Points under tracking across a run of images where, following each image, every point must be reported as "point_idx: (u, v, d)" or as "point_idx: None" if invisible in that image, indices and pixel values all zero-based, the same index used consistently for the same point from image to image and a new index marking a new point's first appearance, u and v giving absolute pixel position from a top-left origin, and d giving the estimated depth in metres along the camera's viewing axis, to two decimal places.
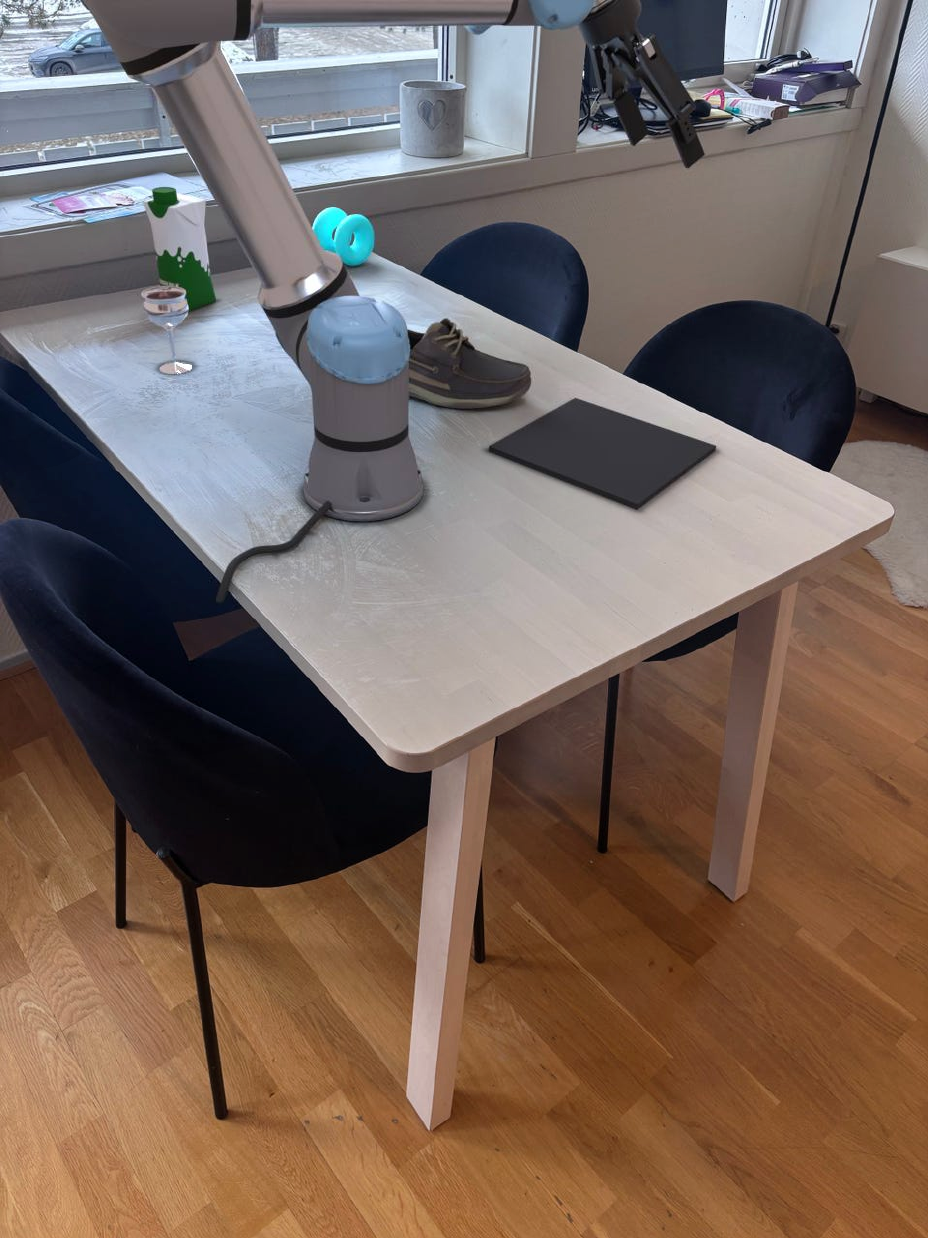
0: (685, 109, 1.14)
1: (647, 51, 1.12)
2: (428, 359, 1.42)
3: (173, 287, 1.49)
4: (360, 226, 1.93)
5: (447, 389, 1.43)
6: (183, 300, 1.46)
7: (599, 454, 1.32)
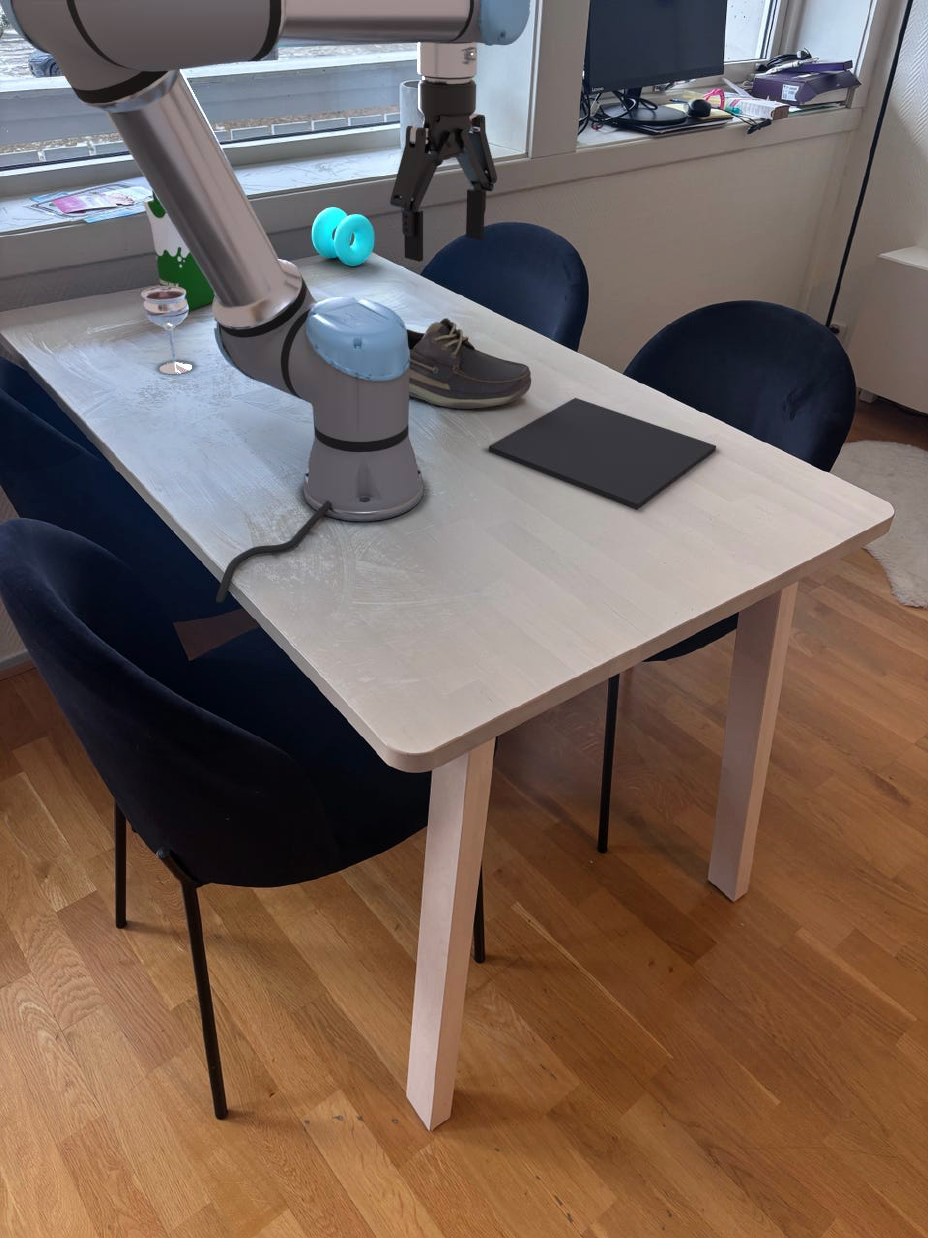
0: (396, 200, 1.24)
1: (410, 136, 1.22)
2: (428, 359, 1.42)
3: (173, 287, 1.49)
4: (360, 226, 1.93)
5: (447, 389, 1.43)
6: (183, 300, 1.46)
7: (599, 454, 1.32)
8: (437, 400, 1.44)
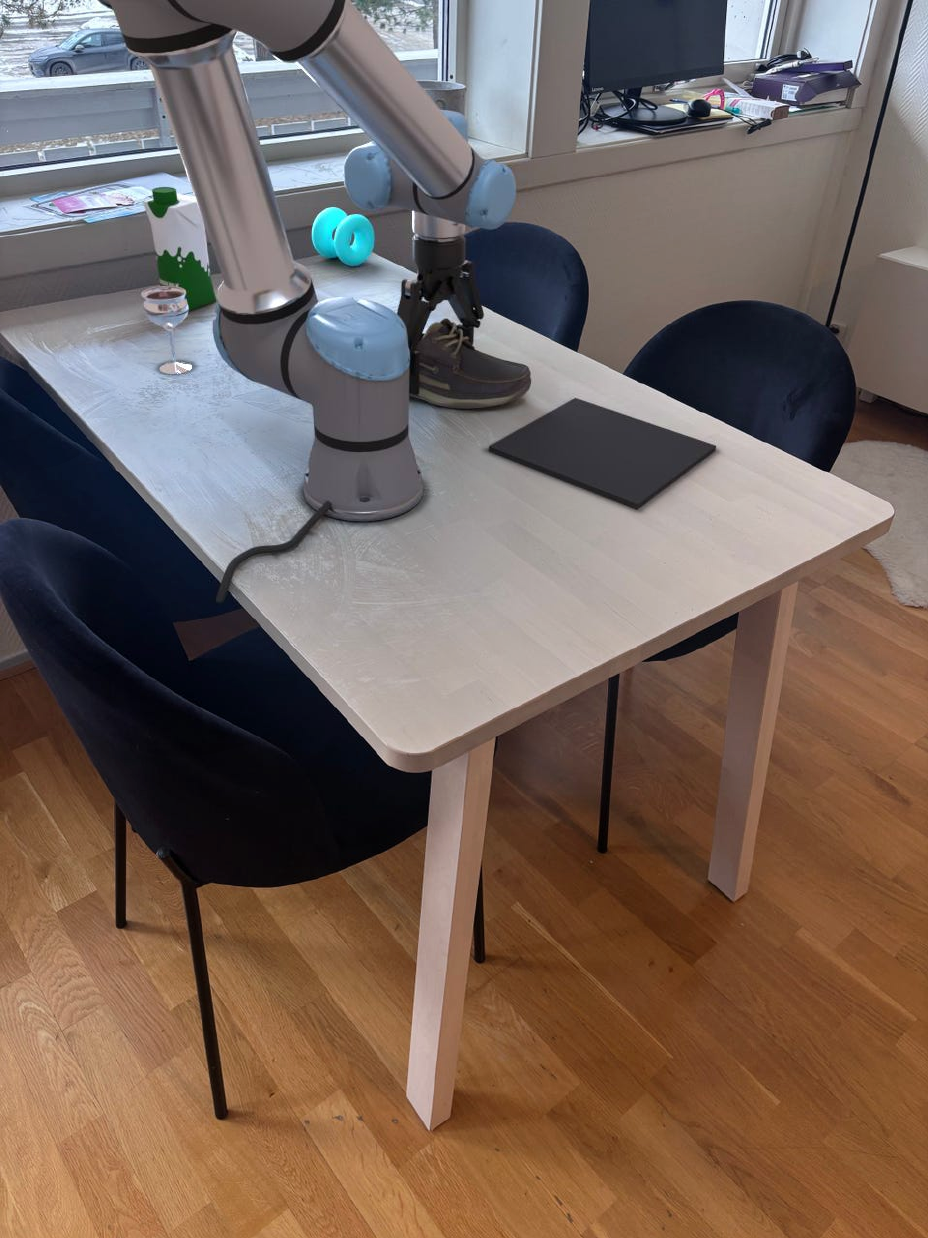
0: None
1: (405, 289, 1.34)
2: (428, 359, 1.42)
3: (173, 287, 1.49)
4: (360, 226, 1.93)
5: (447, 389, 1.43)
6: (183, 300, 1.46)
7: (599, 454, 1.32)
8: (437, 400, 1.44)
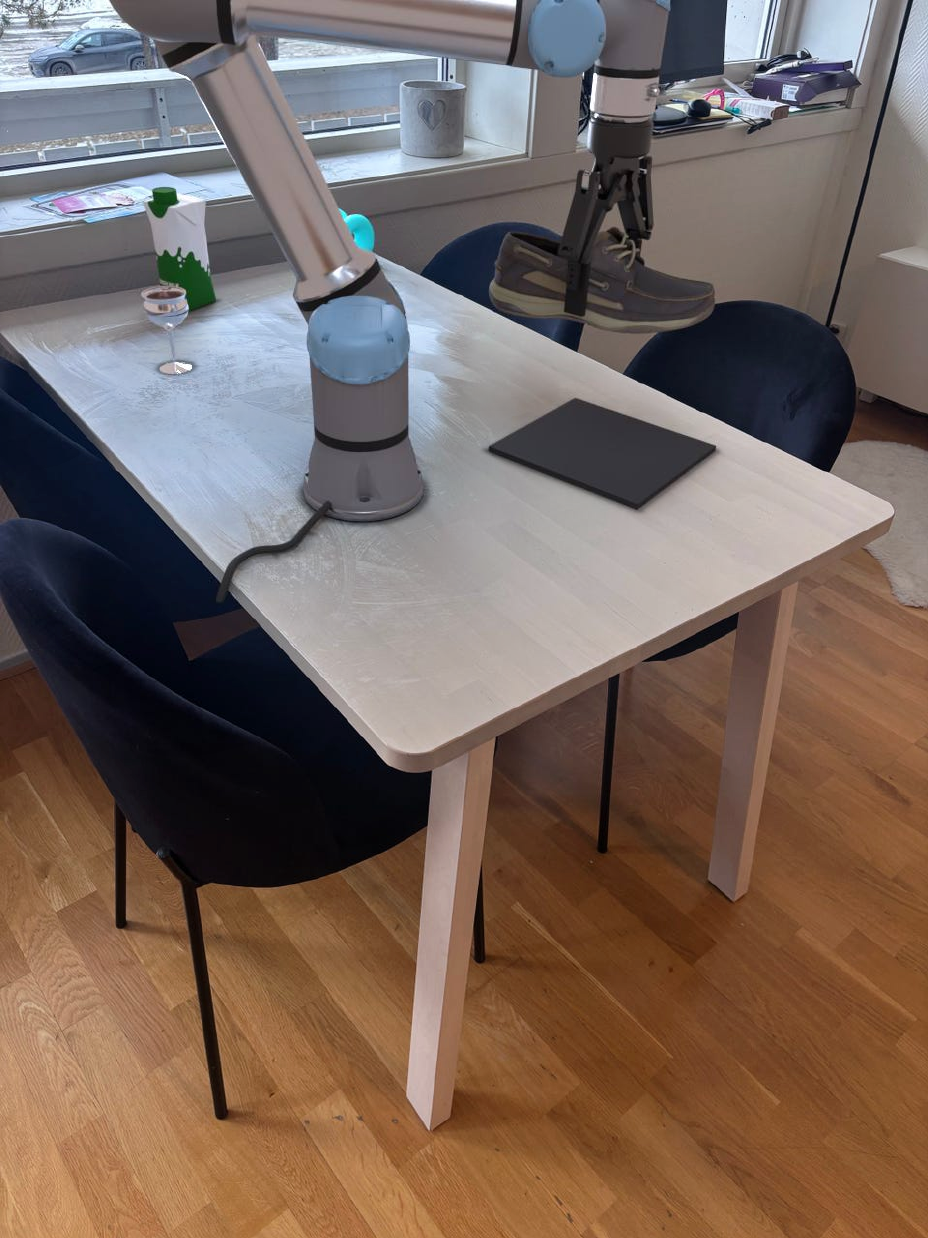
0: (565, 252, 1.13)
1: (582, 181, 1.11)
2: (597, 273, 1.19)
3: (173, 287, 1.49)
4: (360, 226, 1.93)
5: (619, 309, 1.19)
6: (183, 300, 1.46)
7: (599, 454, 1.32)
8: (605, 323, 1.20)
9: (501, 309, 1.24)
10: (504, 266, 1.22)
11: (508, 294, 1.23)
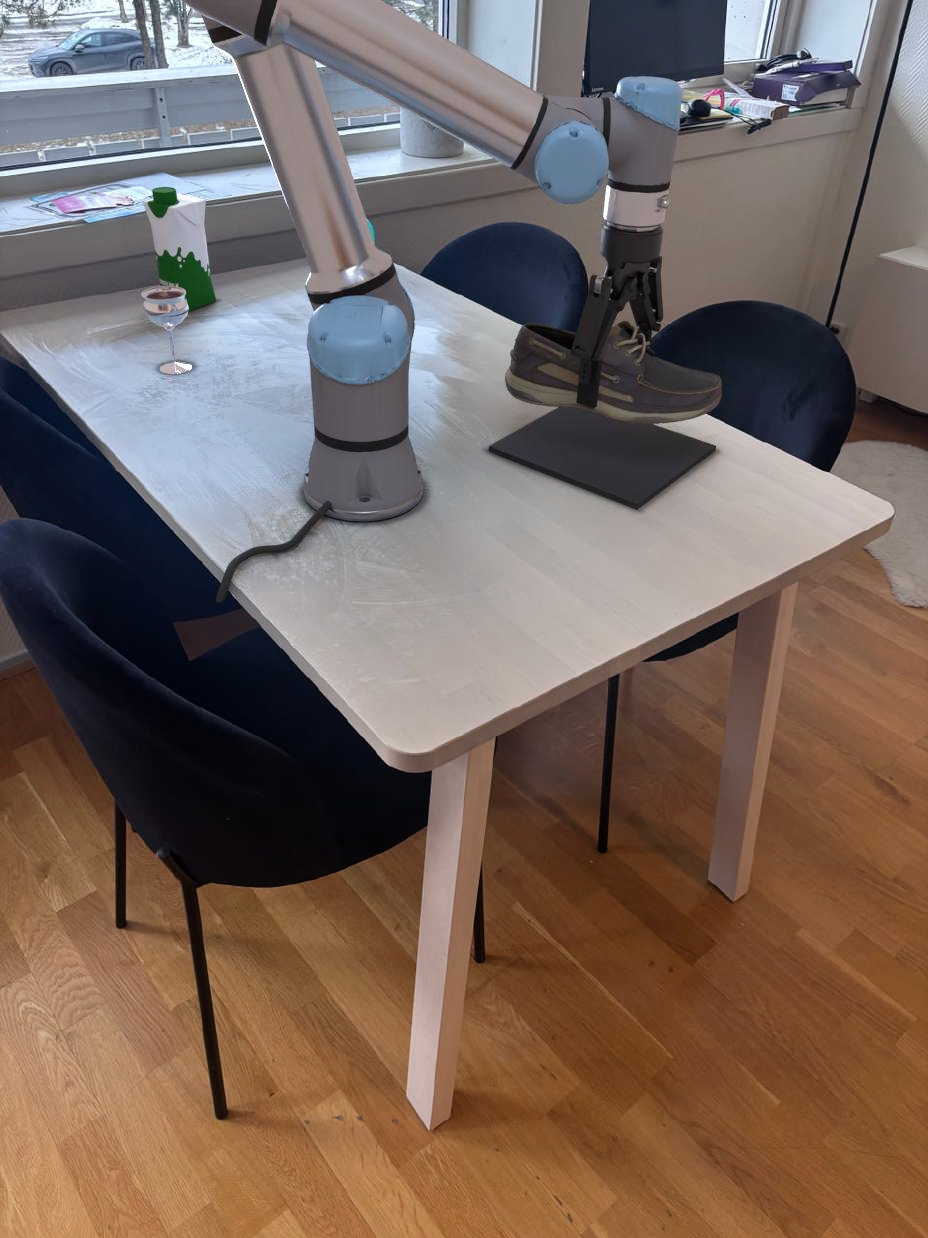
0: (578, 351, 1.19)
1: (595, 286, 1.16)
2: (608, 367, 1.24)
3: (173, 287, 1.49)
4: None
5: (629, 401, 1.24)
6: (183, 300, 1.46)
7: (599, 454, 1.32)
8: (616, 414, 1.26)
9: (516, 397, 1.30)
10: (520, 357, 1.28)
11: (523, 384, 1.28)
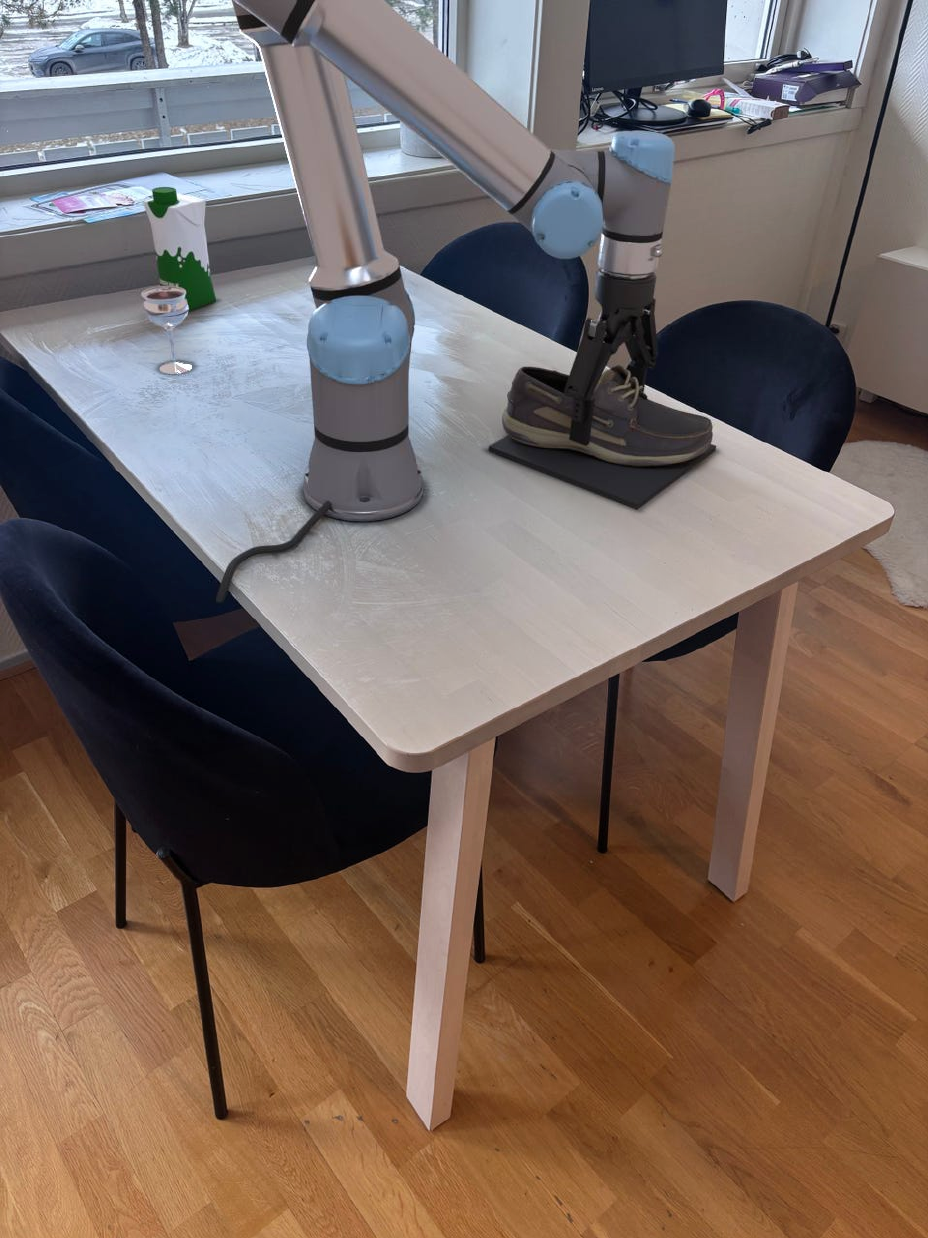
0: (571, 391, 1.21)
1: (589, 329, 1.19)
2: (602, 412, 1.28)
3: (173, 287, 1.49)
4: None
5: (623, 445, 1.28)
6: (183, 300, 1.46)
7: None
8: (610, 457, 1.29)
9: (513, 438, 1.34)
10: (516, 400, 1.31)
11: (519, 426, 1.32)
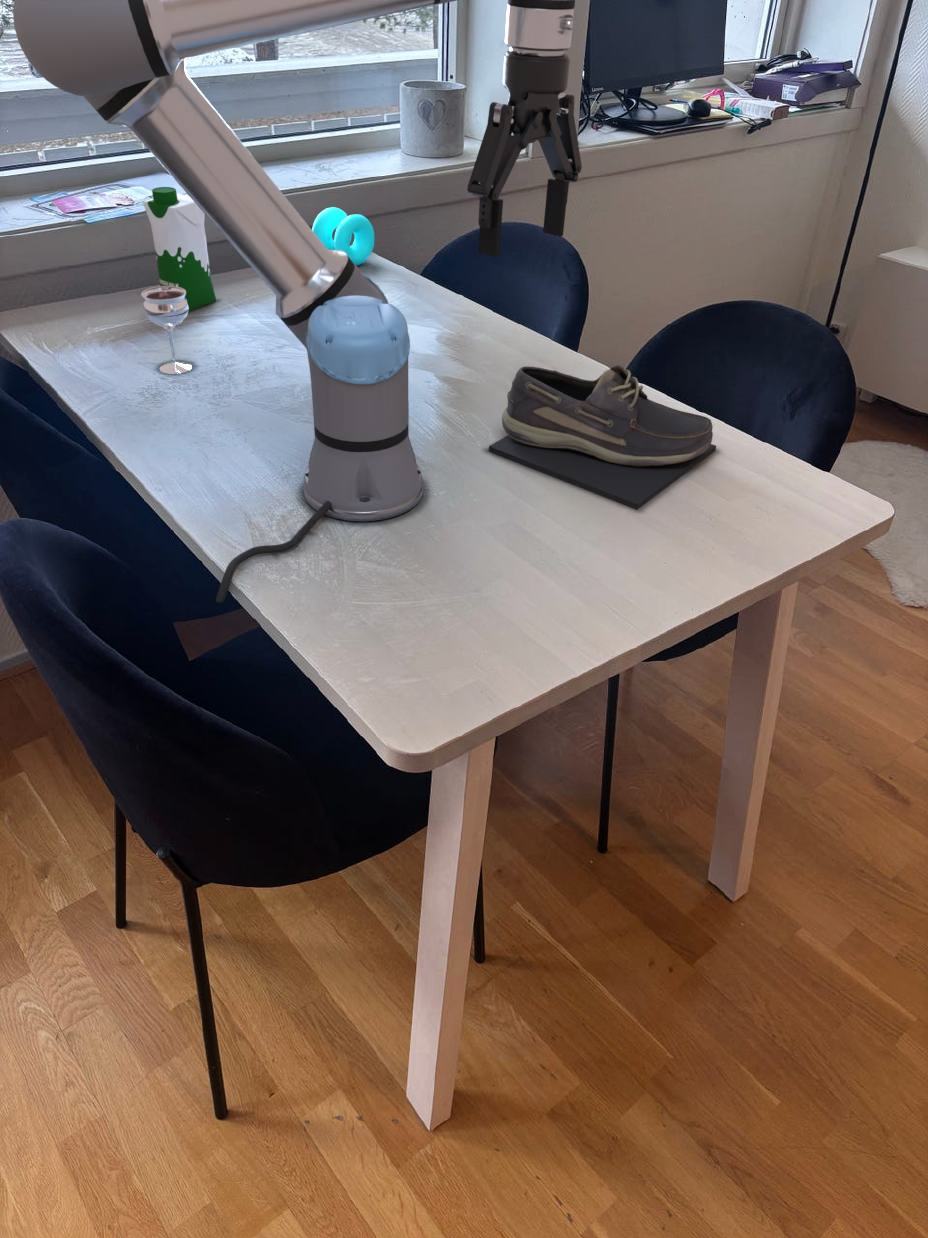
0: (475, 186, 1.10)
1: (494, 114, 1.08)
2: (602, 412, 1.28)
3: (173, 287, 1.49)
4: (360, 226, 1.93)
5: (623, 445, 1.28)
6: (183, 300, 1.46)
7: None
8: (610, 457, 1.29)
9: (513, 438, 1.34)
10: (516, 400, 1.31)
11: (519, 426, 1.32)
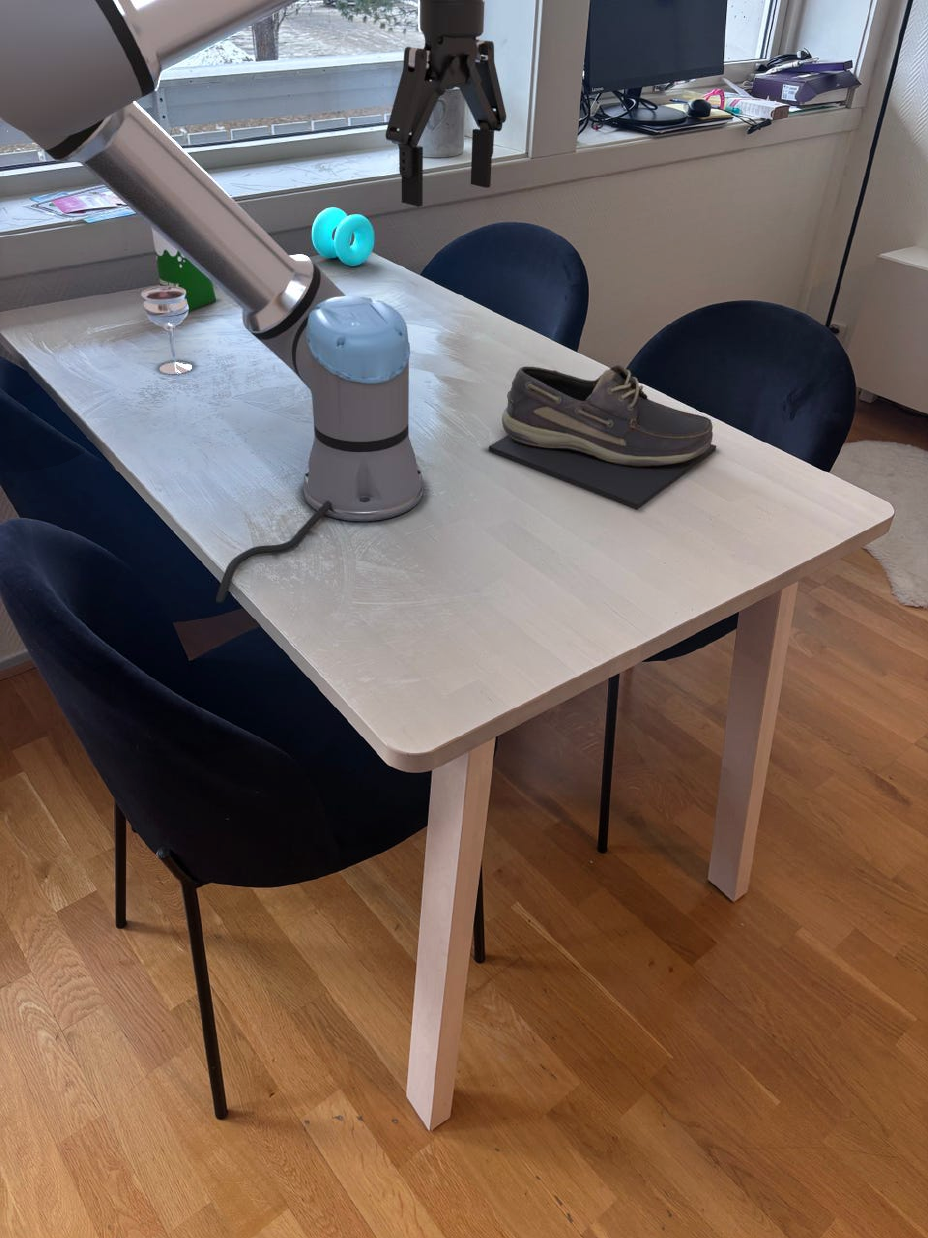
0: (393, 133, 1.09)
1: (409, 58, 1.07)
2: (602, 412, 1.28)
3: (173, 287, 1.49)
4: (360, 226, 1.93)
5: (623, 445, 1.28)
6: (183, 300, 1.46)
7: None
8: (610, 457, 1.29)
9: (513, 438, 1.34)
10: (516, 400, 1.31)
11: (519, 426, 1.32)
